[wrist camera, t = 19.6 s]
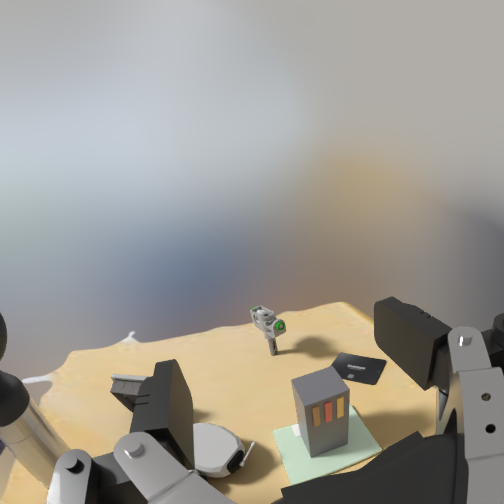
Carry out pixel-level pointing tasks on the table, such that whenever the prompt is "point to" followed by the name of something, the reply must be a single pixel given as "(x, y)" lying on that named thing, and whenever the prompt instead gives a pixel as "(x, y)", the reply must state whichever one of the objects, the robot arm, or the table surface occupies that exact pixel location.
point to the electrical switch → (126, 389)
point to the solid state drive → (358, 368)
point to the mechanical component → (268, 325)
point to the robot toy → (217, 451)
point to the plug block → (322, 410)
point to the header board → (309, 468)
